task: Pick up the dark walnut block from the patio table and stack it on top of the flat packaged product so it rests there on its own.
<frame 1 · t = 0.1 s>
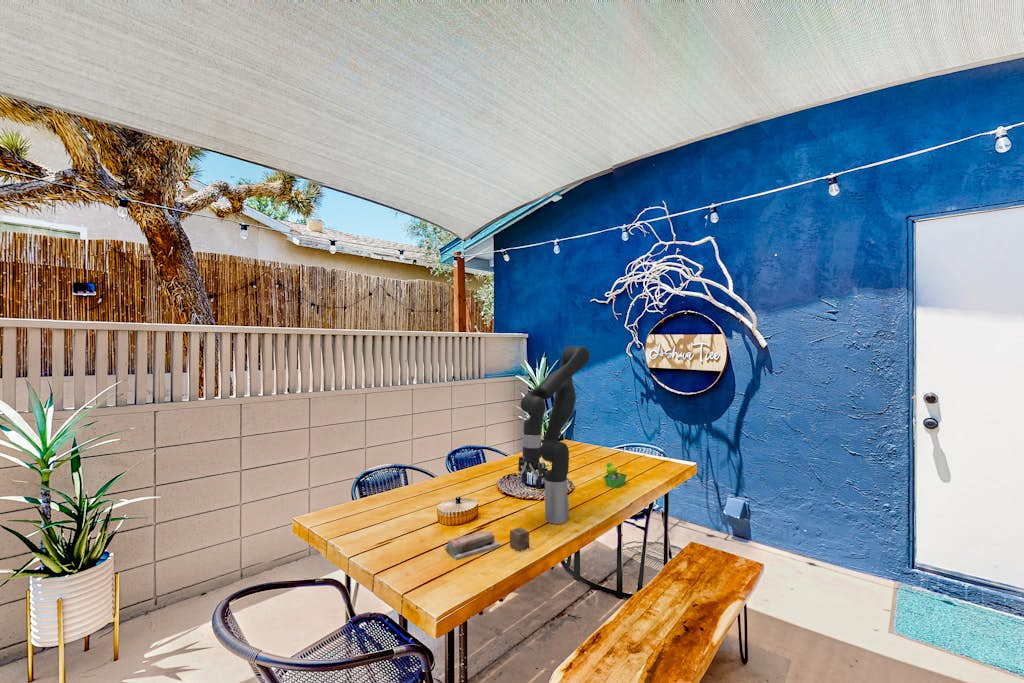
hand: (531, 485, 173), 17 cm above the table, tool pointing down, fingers open, 8 cm apart
packaged product: (472, 550, 157), on the table
walnut block: (519, 547, 157), on the table
potted cactus: (614, 485, 226), on the table
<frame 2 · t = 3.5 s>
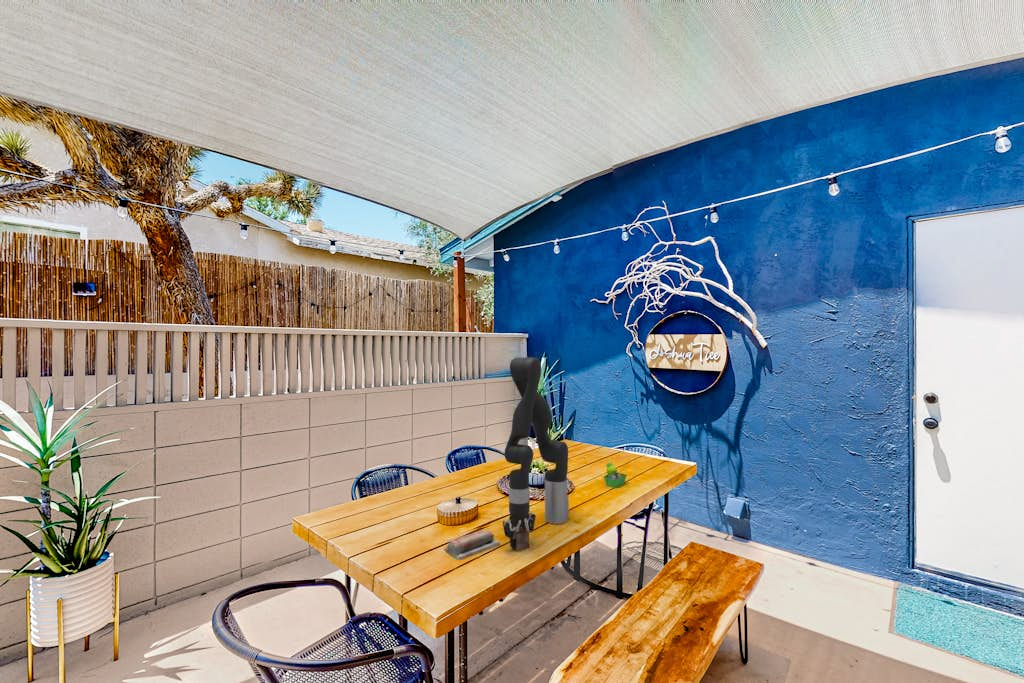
hand: (519, 545, 157), 1 cm above the table, tool pointing down, fingers closed on walnut block, 5 cm apart
walnut block: (519, 547, 157), on the table, touching gripper
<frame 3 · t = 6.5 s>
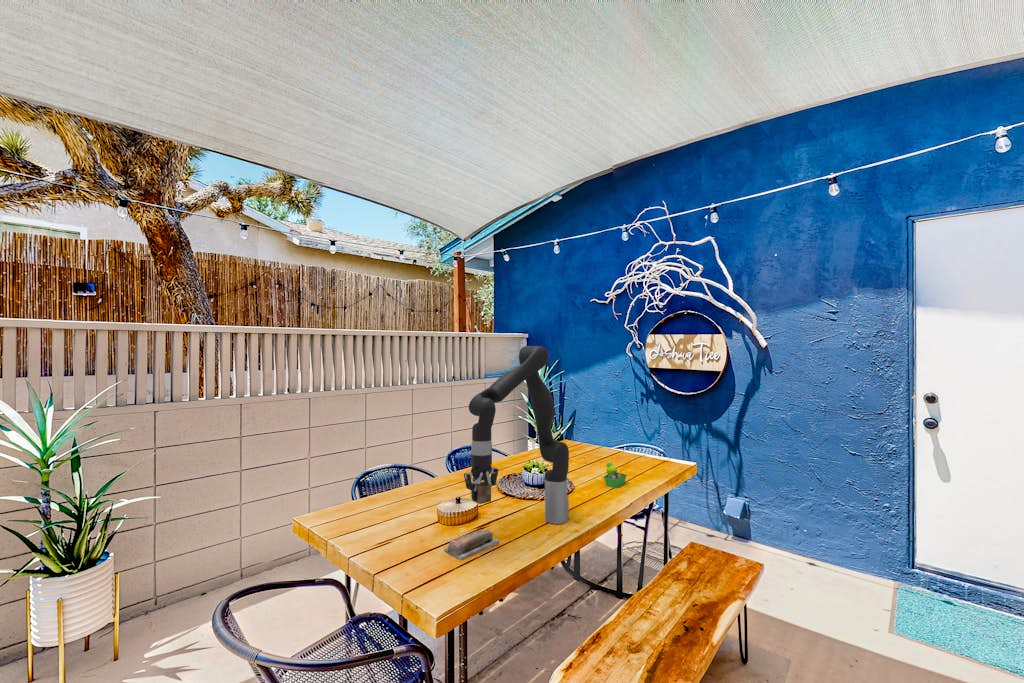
hand: (481, 498, 156), 18 cm above the table, tool pointing down, fingers closed on walnut block, 5 cm apart
walnut block: (481, 500, 156), point 17 cm above the table, touching gripper
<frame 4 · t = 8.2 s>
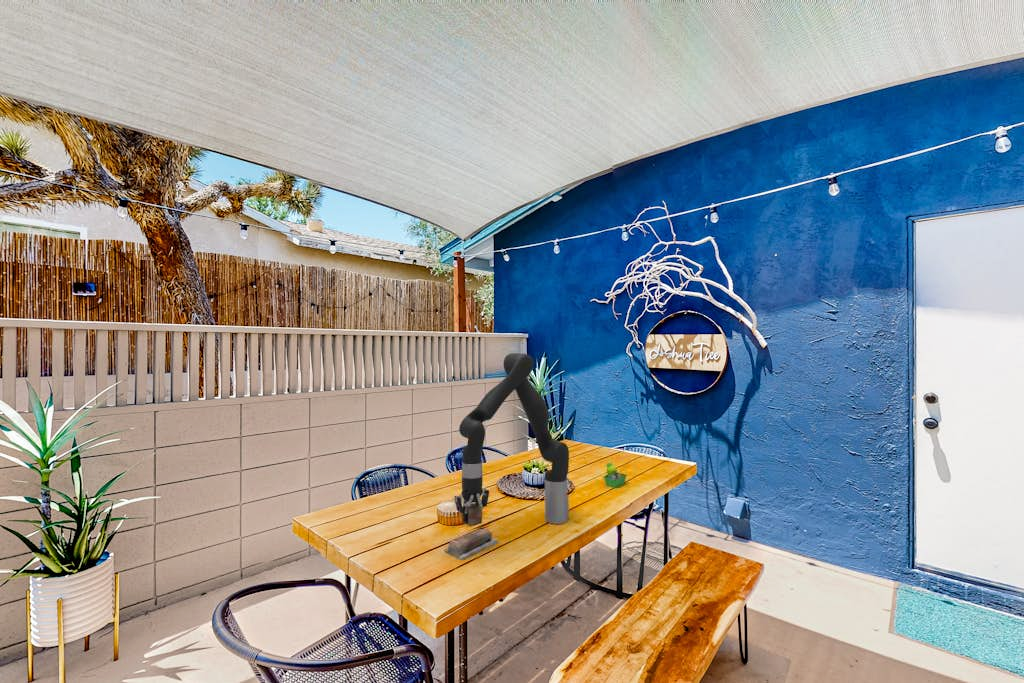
hand: (472, 520, 157), 10 cm above the table, tool pointing down, fingers closed on walnut block, 5 cm apart
walnut block: (472, 522, 157), point 9 cm above the table, touching gripper
when the fingers open (7 cm above the table, at t = 9.6 s): walnut block drops 2 cm, resting on packaged product.
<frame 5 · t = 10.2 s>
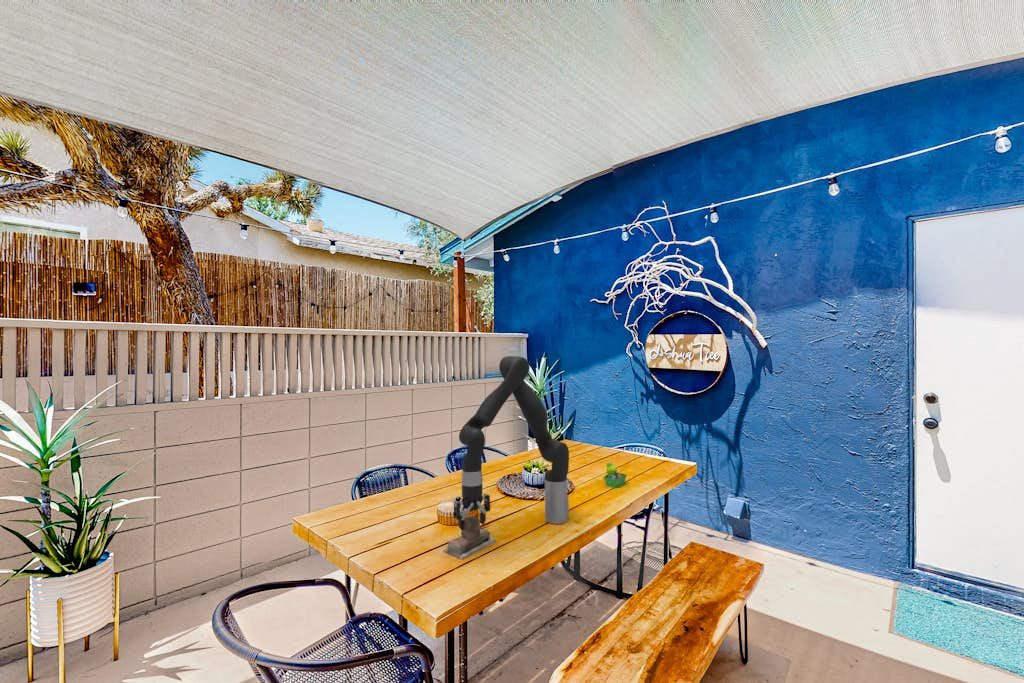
hand: (472, 526, 157), 8 cm above the table, tool pointing down, fingers open, 8 cm apart
packaged product: (470, 548, 158), on the table, touching walnut block
walnut block: (470, 535, 157), point 4 cm above the table, touching packaged product
everything else where it was.
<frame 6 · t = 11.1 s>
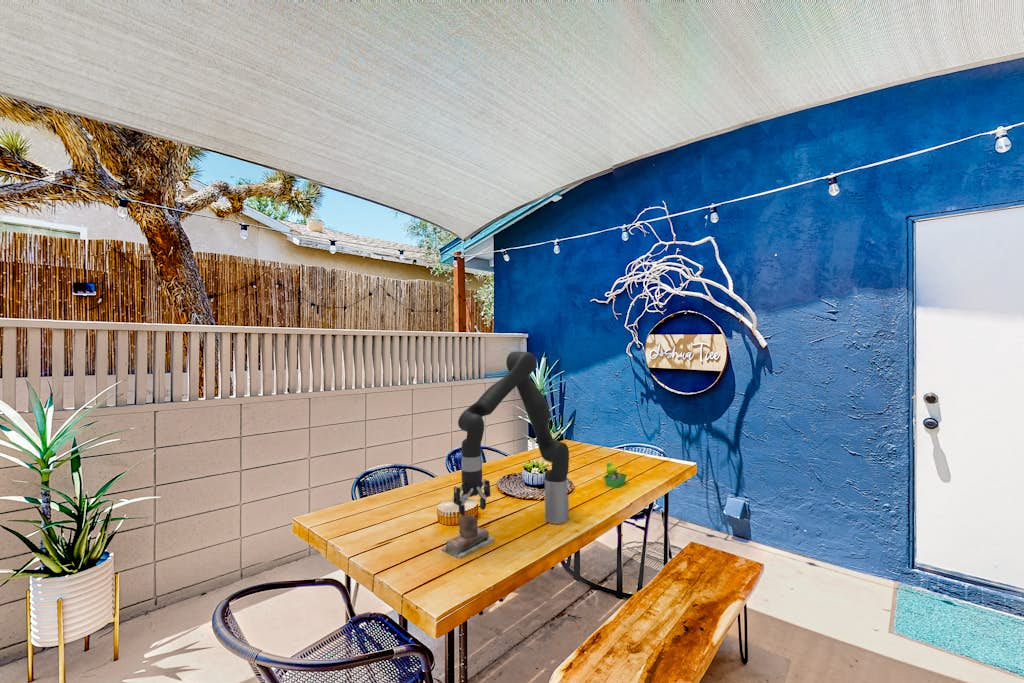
hand: (472, 512, 157), 13 cm above the table, tool pointing down, fingers open, 8 cm apart
walnut block: (468, 534, 158), point 4 cm above the table, touching packaged product
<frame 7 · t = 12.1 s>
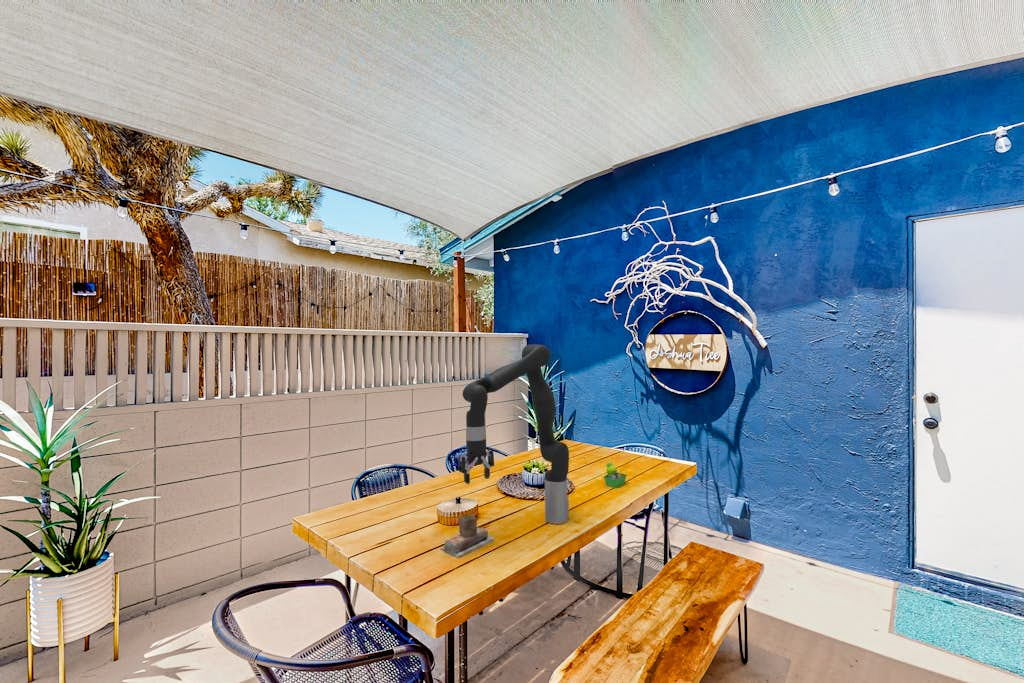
hand: (477, 480, 161), 23 cm above the table, tool pointing down, fingers open, 8 cm apart
packaged product: (468, 547, 159), on the table
walnut block: (467, 533, 159), point 4 cm above the table
everything else where it was.
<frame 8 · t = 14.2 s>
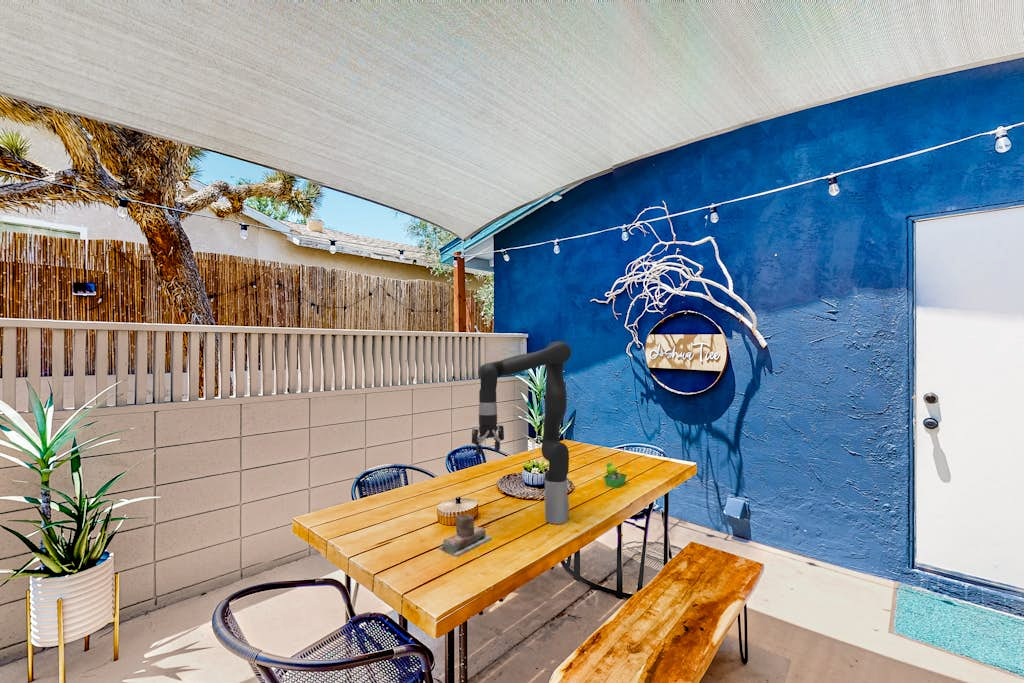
hand: (488, 452, 176), 30 cm above the table, tool pointing down, fingers open, 8 cm apart
packaged product: (466, 546, 160), on the table, touching walnut block
walnut block: (465, 533, 160), point 4 cm above the table, touching packaged product
everything else where it was.
at the end: walnut block inside the target area on the packaged product (0.4 cm from its centre), point 5.1 cm above the packaged product's base; walnut block tilted 1°; the gripper is holding nothing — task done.
